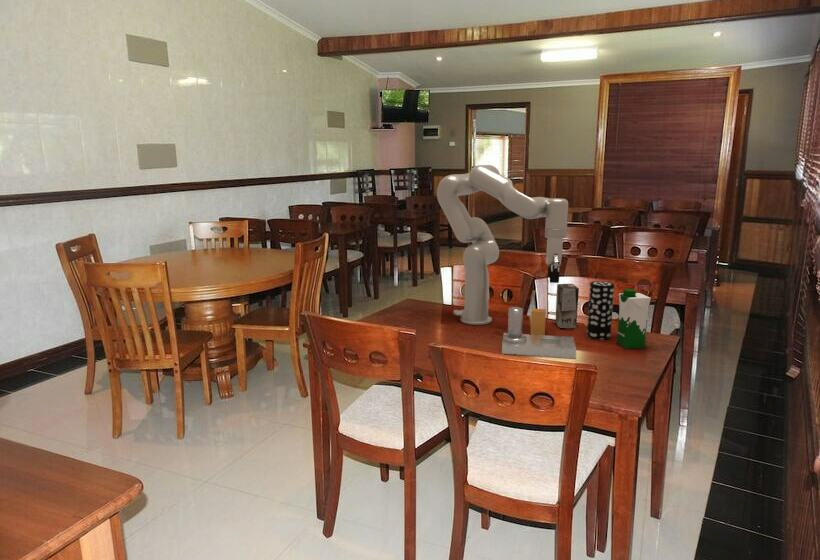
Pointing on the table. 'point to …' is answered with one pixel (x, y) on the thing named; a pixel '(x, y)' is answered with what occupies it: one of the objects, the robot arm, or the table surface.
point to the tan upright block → (538, 321)
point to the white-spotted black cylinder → (600, 310)
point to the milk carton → (632, 319)
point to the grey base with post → (534, 340)
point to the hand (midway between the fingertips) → (553, 279)
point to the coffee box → (566, 305)
